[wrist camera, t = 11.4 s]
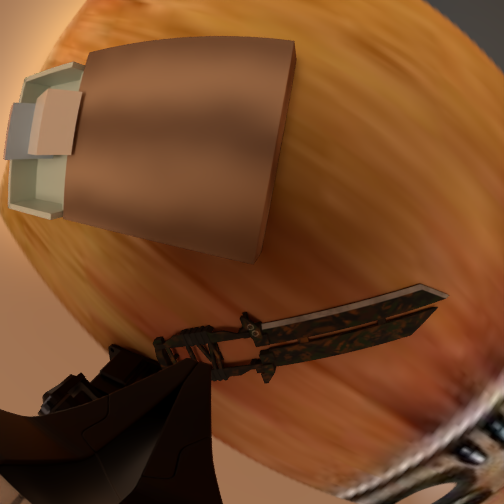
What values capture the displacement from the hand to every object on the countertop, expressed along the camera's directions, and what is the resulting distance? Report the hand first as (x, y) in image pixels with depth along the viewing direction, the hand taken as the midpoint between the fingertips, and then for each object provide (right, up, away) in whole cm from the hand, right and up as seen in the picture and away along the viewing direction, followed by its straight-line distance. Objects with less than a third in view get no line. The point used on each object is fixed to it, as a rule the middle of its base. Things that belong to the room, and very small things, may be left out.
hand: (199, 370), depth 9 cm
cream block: (-13, +14, +9) cm, 22 cm away
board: (-4, +12, +10) cm, 16 cm away
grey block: (-17, +14, +8) cm, 24 cm away
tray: (-16, +14, +12) cm, 25 cm away
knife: (+5, -2, +13) cm, 14 cm away
